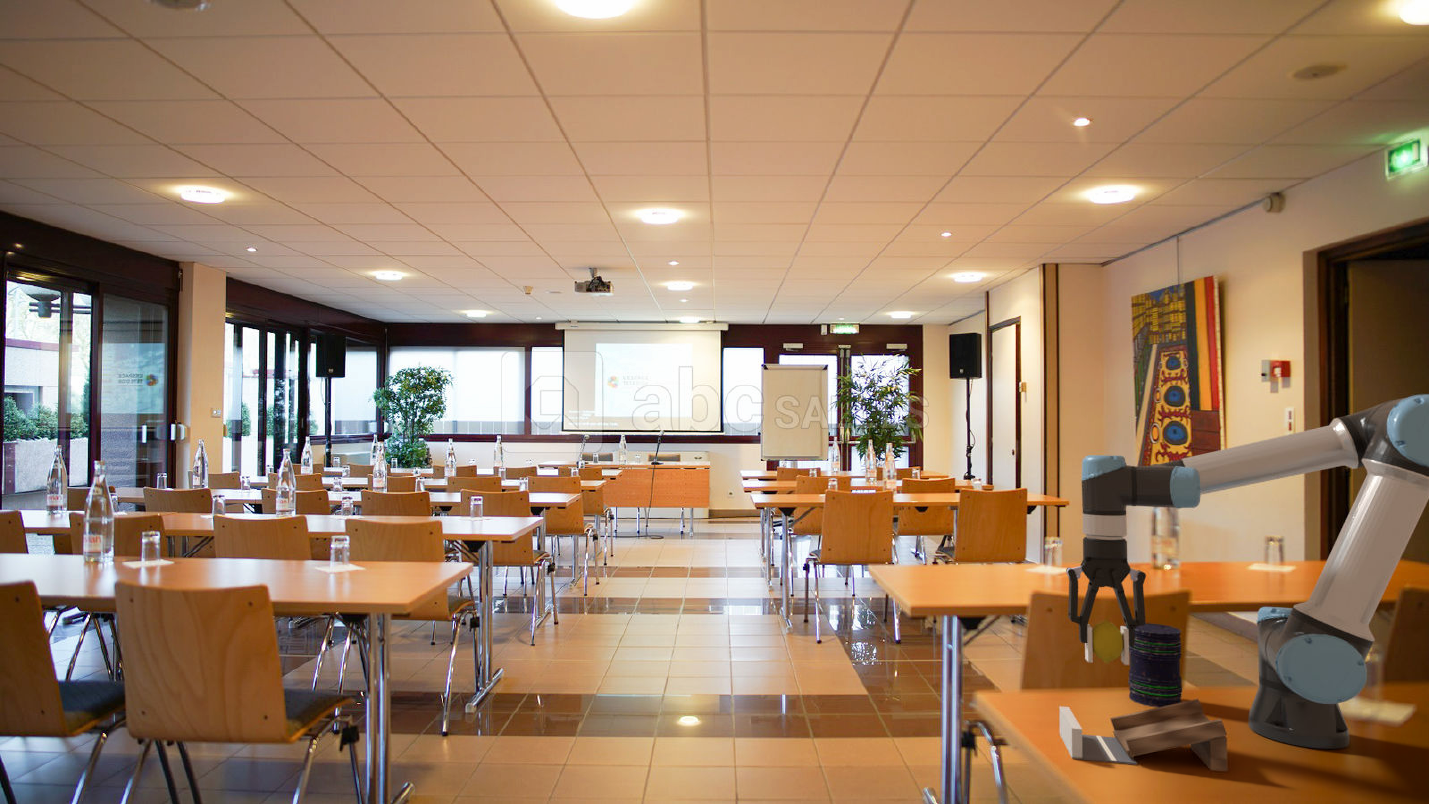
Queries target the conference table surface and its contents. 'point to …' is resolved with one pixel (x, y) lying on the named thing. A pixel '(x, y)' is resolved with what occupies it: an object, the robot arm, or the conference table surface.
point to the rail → (1071, 732)
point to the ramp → (1173, 732)
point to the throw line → (1106, 748)
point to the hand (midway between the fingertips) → (1107, 661)
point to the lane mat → (1097, 753)
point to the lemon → (1107, 641)
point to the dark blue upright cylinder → (1155, 666)
